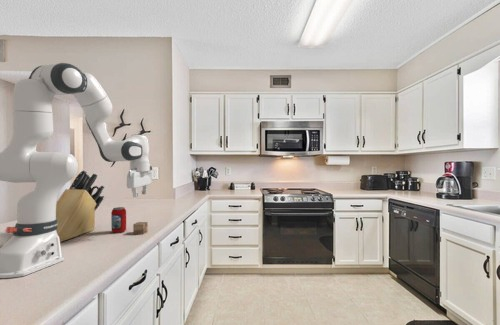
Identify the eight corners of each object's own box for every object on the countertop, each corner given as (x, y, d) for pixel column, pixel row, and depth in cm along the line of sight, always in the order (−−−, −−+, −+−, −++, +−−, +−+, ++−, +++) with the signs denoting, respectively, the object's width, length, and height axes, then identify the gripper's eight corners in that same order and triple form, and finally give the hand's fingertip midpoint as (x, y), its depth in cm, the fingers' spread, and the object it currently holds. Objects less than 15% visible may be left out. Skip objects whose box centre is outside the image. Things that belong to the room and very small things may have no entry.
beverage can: (108, 232, 141) (108, 208, 141) (120, 229, 147) (120, 206, 147) (117, 234, 138) (117, 209, 138) (129, 231, 144) (129, 207, 144)
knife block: (106, 226, 155) (106, 169, 155) (56, 245, 120) (55, 172, 120) (87, 225, 157) (87, 169, 156) (32, 244, 122) (31, 172, 121)
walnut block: (143, 234, 138) (143, 224, 138) (133, 234, 138) (133, 224, 138) (147, 232, 143) (147, 222, 142) (137, 231, 143) (137, 222, 143)
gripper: (136, 168, 129) (136, 198, 130) (154, 166, 150) (154, 192, 150) (122, 168, 130) (123, 198, 130) (142, 166, 150) (142, 192, 150)
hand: (139, 195), depth 140 cm, fingers open, 8 cm apart
